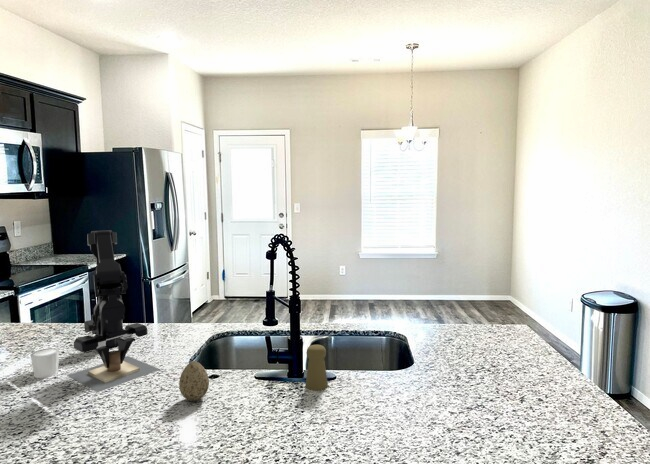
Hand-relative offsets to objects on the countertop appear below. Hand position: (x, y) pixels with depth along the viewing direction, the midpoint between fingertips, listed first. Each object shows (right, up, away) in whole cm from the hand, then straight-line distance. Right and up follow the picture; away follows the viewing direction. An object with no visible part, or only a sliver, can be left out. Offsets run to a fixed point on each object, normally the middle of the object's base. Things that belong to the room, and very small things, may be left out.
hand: (113, 365), depth 125 cm
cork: (+58, -3, -9) cm, 59 cm away
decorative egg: (+28, -4, -16) cm, 32 cm away
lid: (0, -2, 0) cm, 2 cm away
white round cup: (-19, -3, 0) cm, 19 cm away
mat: (0, -3, 0) cm, 2 cm away
